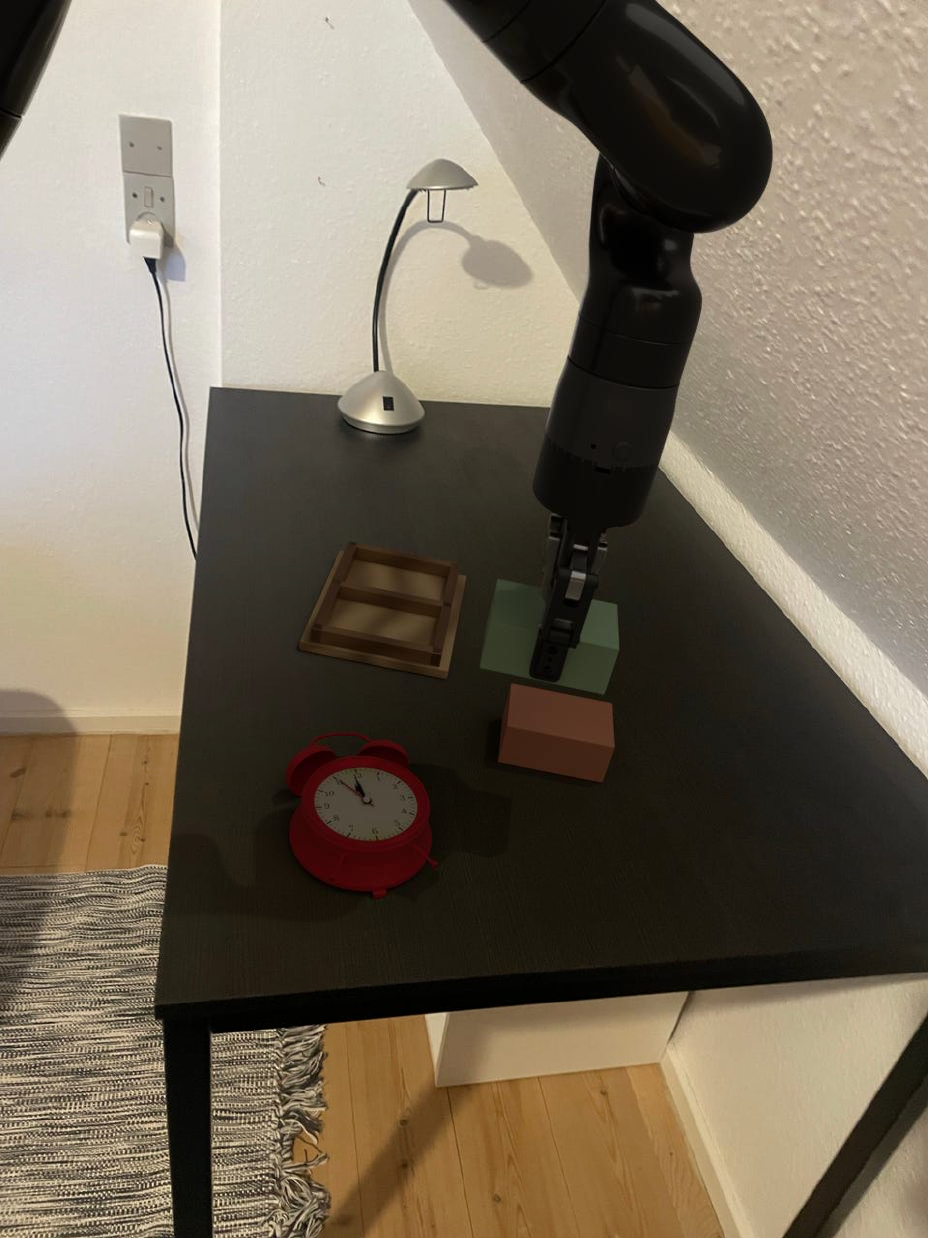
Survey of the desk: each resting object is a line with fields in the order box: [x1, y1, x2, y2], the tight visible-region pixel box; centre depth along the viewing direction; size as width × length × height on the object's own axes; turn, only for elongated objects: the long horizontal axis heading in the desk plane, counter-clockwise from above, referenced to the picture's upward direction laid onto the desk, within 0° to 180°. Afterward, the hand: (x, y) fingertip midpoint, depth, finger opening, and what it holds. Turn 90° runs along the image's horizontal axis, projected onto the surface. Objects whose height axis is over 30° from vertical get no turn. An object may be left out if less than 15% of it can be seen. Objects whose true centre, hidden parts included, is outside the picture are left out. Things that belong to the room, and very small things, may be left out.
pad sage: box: [479, 578, 620, 696], centre depth 68 cm, size 9×6×4 cm, turn 83°
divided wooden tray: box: [298, 540, 467, 680], centre depth 94 cm, size 14×18×2 cm
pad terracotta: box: [497, 682, 615, 783], centre depth 81 cm, size 9×6×4 cm, turn 84°
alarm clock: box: [285, 731, 439, 900], centre depth 70 cm, size 10×6×15 cm
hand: (545, 650), depth 69 cm, fingers closed on pad sage, 6 cm apart
